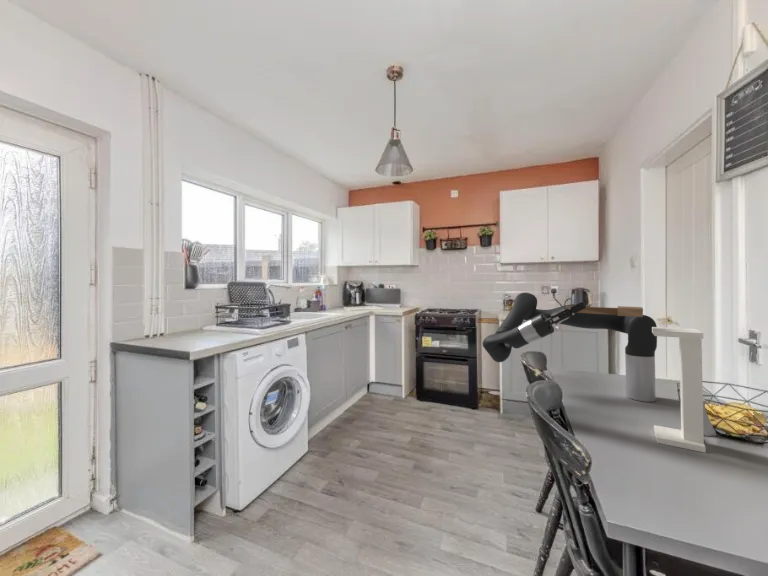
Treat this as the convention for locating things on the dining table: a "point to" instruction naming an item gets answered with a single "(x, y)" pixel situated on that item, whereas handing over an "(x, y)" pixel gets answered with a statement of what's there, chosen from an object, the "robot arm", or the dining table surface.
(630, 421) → the dining table surface
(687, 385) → the white pedestal stand
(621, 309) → the tan angular block
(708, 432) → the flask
